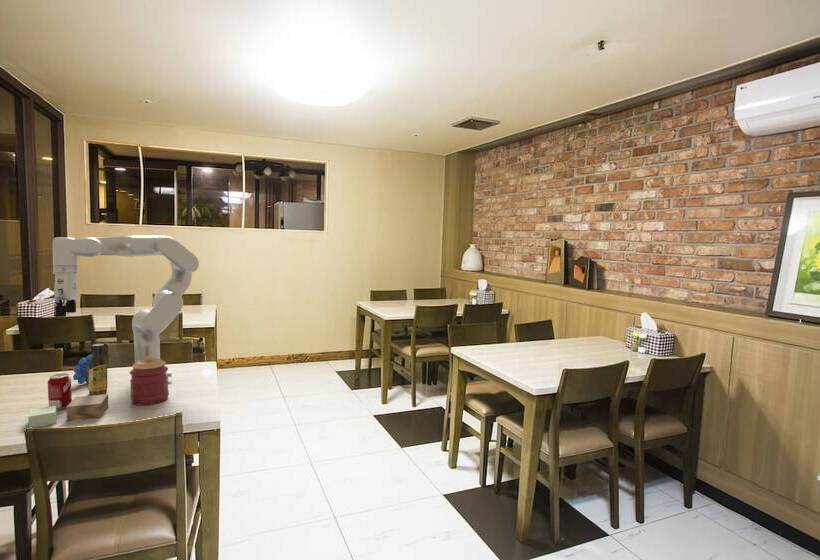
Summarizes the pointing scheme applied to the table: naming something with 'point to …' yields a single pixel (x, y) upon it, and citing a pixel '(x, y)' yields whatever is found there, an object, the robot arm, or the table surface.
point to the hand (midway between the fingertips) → (66, 314)
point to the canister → (149, 381)
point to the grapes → (82, 370)
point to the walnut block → (87, 407)
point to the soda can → (59, 390)
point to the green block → (42, 416)
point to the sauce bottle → (98, 371)
